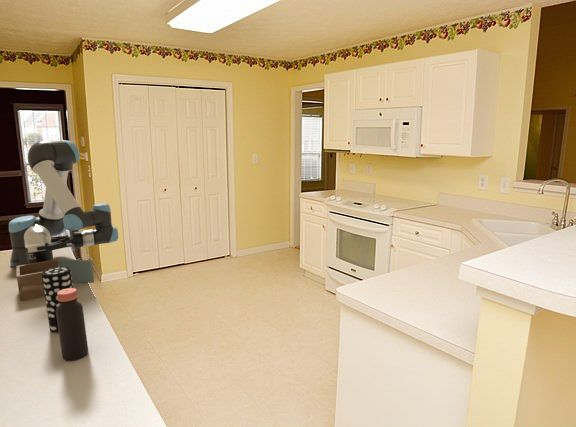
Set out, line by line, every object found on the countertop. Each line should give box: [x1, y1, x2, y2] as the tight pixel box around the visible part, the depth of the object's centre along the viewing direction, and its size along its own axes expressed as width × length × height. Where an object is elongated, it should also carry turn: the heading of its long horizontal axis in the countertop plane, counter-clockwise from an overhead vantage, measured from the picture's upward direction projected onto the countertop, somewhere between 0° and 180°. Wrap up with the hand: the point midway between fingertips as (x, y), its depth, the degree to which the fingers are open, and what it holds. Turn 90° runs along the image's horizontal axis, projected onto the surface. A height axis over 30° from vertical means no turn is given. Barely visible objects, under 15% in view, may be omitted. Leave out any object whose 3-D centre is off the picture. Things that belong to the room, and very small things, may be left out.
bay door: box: [58, 258, 95, 284], centre depth 176 cm, size 16×1×10 cm, turn 79°
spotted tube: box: [42, 266, 74, 334], centre depth 133 cm, size 8×8×20 cm
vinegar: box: [56, 287, 89, 362], centre depth 115 cm, size 7×7×20 cm
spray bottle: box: [24, 224, 55, 264], centre depth 180 cm, size 10×10×25 cm
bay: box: [15, 259, 59, 302], centre depth 166 cm, size 16×15×10 cm
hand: (27, 246), depth 177 cm, fingers closed on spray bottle, 10 cm apart
